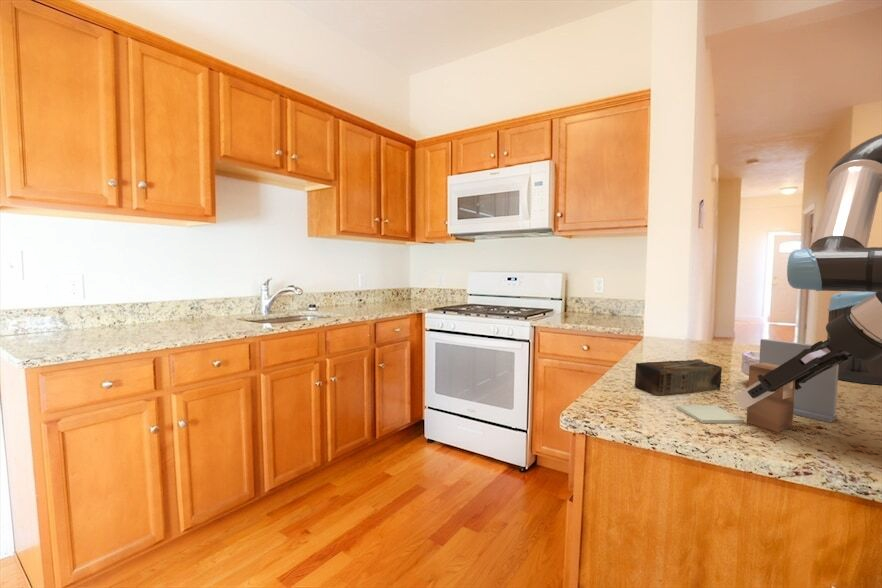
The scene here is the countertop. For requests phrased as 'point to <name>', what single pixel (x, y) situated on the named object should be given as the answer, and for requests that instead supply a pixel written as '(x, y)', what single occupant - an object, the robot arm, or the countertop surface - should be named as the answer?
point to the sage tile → (709, 414)
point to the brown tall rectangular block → (771, 402)
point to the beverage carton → (677, 376)
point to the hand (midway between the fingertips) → (747, 400)
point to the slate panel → (815, 392)
